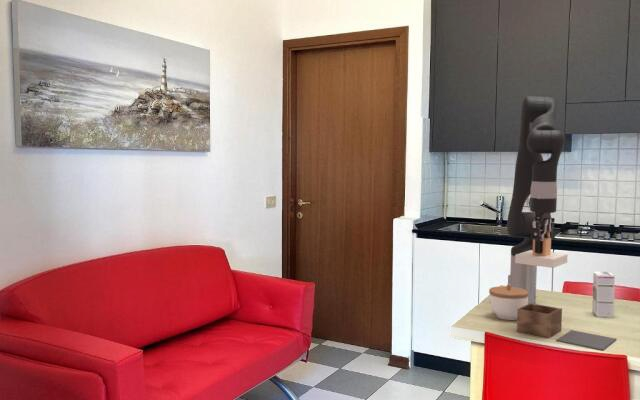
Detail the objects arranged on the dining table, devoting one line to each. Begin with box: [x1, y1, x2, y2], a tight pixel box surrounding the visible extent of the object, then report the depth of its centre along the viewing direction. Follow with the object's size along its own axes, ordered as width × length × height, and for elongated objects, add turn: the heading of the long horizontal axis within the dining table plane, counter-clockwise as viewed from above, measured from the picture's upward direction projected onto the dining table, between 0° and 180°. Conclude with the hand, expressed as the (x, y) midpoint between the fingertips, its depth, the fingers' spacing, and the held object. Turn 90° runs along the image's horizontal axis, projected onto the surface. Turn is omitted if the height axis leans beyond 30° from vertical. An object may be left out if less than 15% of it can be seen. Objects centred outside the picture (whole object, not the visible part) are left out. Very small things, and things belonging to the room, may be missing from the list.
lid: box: [515, 237, 568, 269], centre depth 185 cm, size 12×12×8 cm
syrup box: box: [591, 271, 616, 318], centre depth 206 cm, size 6×6×14 cm
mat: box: [555, 329, 617, 351], centre depth 178 cm, size 13×13×1 cm
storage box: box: [516, 303, 563, 339], centre depth 187 cm, size 10×10×7 cm
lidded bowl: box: [488, 283, 529, 321], centre depth 203 cm, size 13×13×11 cm
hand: (541, 252), depth 185 cm, fingers closed on lid, 4 cm apart
